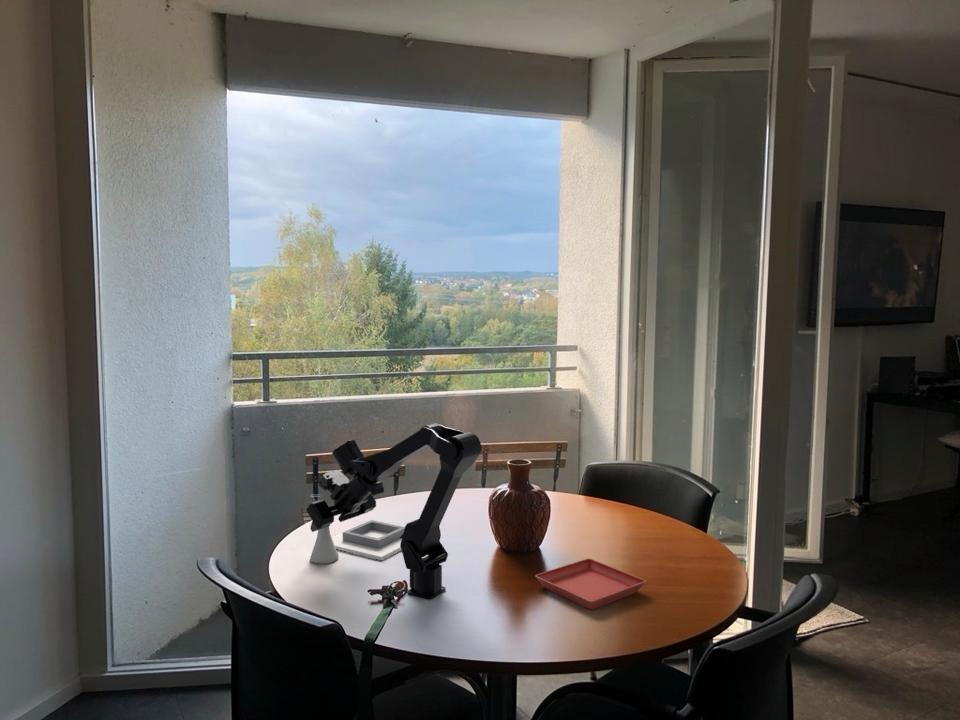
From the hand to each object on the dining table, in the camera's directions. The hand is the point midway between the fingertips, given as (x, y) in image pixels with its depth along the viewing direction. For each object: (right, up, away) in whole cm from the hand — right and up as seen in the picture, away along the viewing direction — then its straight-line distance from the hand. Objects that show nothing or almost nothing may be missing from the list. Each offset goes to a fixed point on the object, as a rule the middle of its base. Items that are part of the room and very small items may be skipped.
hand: (325, 525), depth 179 cm
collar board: (+10, -8, +14) cm, 19 cm away
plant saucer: (+63, -12, -16) cm, 66 cm away
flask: (-1, -9, +1) cm, 9 cm away
